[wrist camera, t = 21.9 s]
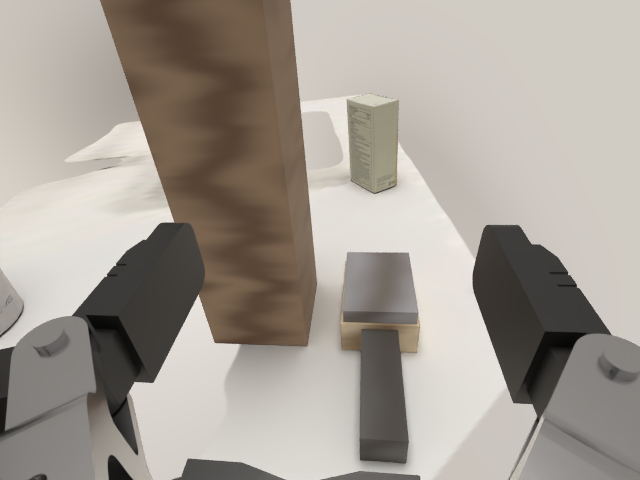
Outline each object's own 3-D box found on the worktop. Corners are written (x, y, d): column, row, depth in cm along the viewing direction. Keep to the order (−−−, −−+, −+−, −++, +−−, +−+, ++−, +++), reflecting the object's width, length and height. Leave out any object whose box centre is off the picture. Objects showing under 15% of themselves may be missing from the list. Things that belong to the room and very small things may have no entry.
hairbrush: (334, 457, 23) (331, 420, 21) (346, 285, 37) (344, 251, 35) (432, 465, 23) (440, 427, 20) (407, 286, 36) (410, 251, 34)
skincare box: (397, 186, 54) (402, 99, 47) (373, 194, 53) (374, 106, 46) (371, 172, 59) (371, 92, 52) (347, 179, 57) (345, 97, 50)
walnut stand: (215, 343, 32) (36, -189, 15) (240, 281, 38) (138, -135, 21) (307, 345, 31) (234, -219, 14) (316, 282, 37) (275, -152, 20)
